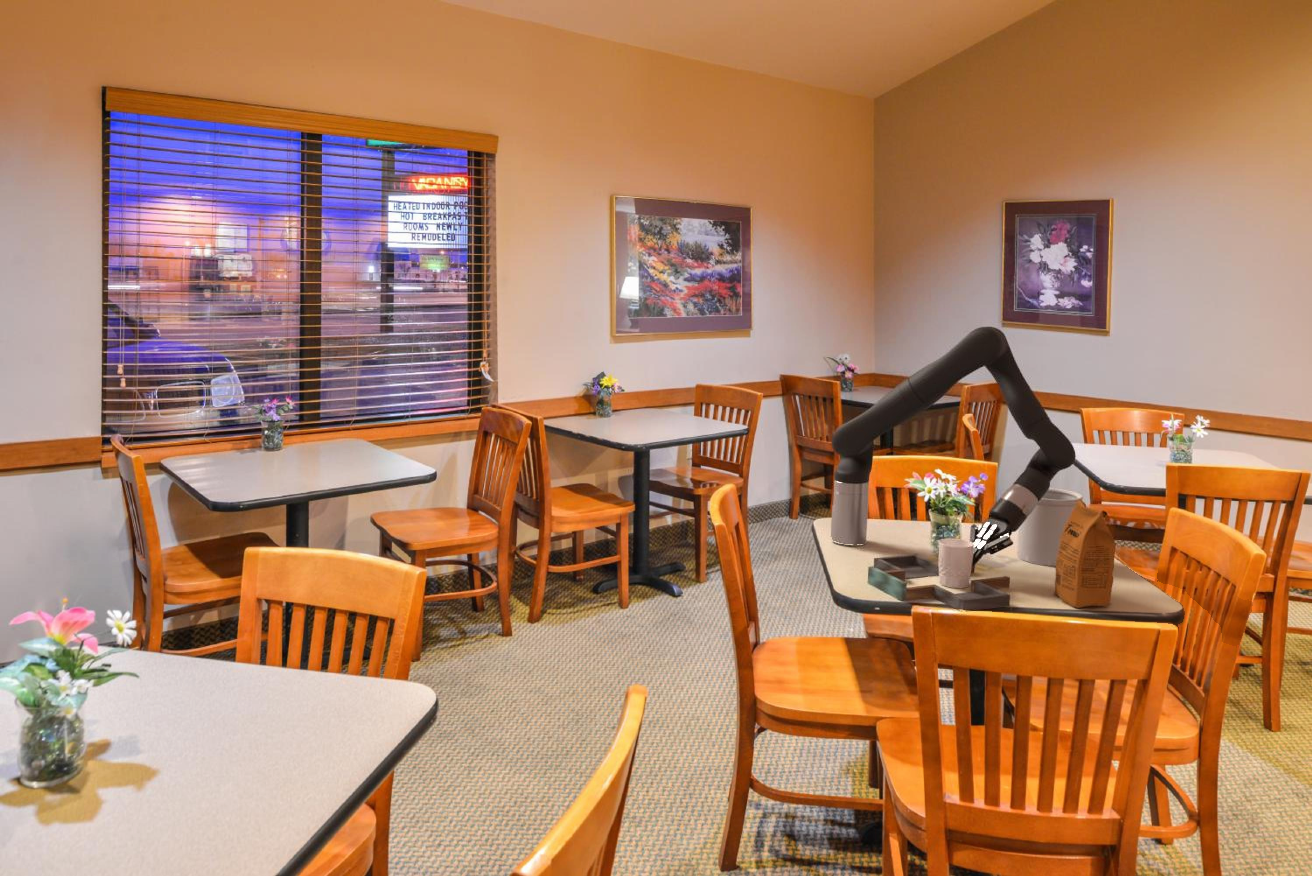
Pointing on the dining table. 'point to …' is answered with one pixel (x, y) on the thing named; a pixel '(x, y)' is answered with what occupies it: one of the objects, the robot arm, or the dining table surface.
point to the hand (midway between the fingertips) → (968, 562)
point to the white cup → (955, 562)
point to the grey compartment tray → (898, 568)
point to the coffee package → (1085, 559)
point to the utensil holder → (1046, 527)
